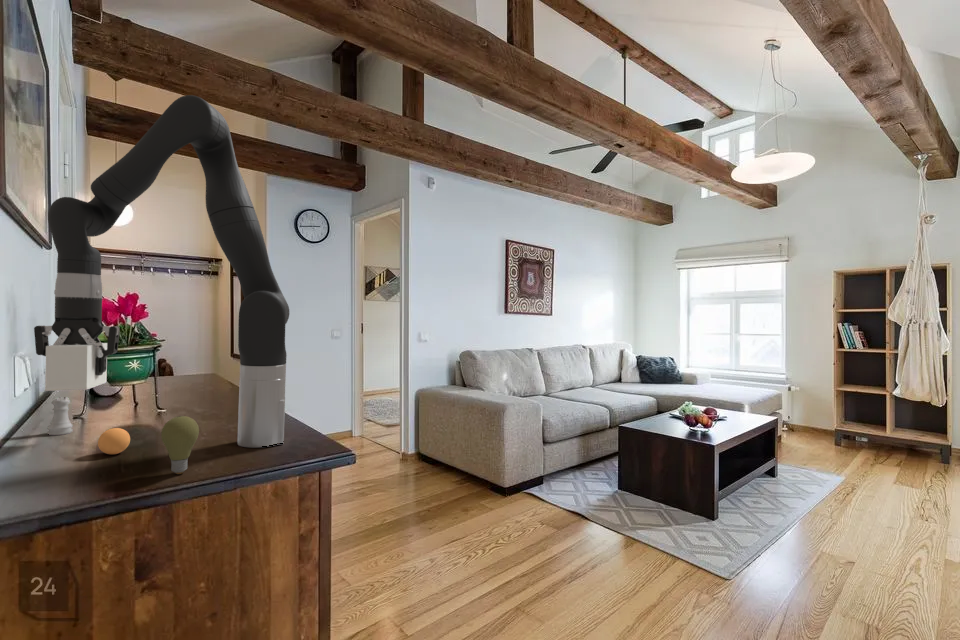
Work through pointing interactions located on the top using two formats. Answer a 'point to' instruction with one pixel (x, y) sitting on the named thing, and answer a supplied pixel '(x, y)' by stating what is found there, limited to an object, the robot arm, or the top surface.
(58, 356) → the light gray block
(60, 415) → the rook chess piece
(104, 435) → the orange egg
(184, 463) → the light bulb
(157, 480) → the top surface
